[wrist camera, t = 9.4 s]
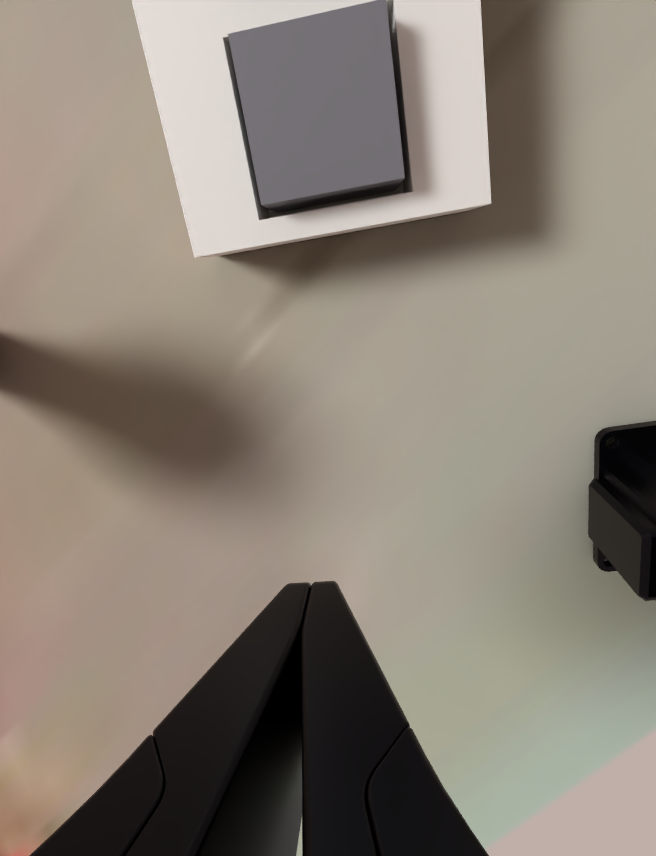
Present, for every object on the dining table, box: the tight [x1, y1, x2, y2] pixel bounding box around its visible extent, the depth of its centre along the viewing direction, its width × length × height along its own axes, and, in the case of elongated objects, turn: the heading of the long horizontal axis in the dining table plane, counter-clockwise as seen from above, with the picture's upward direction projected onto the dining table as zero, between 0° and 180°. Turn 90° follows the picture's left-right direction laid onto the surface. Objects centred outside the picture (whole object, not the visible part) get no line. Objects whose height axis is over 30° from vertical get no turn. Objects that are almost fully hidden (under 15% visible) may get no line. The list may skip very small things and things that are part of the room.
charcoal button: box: [228, 0, 405, 213], centre depth 14 cm, size 4×4×3 cm
